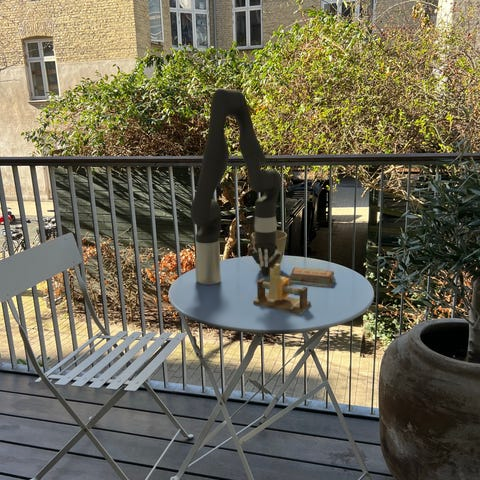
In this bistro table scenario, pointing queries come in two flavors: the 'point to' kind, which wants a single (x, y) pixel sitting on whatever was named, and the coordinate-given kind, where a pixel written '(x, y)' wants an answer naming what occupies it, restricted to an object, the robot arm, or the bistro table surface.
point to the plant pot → (280, 244)
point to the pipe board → (284, 304)
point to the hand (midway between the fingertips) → (265, 275)
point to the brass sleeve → (274, 281)
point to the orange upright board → (280, 288)
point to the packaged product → (312, 277)
